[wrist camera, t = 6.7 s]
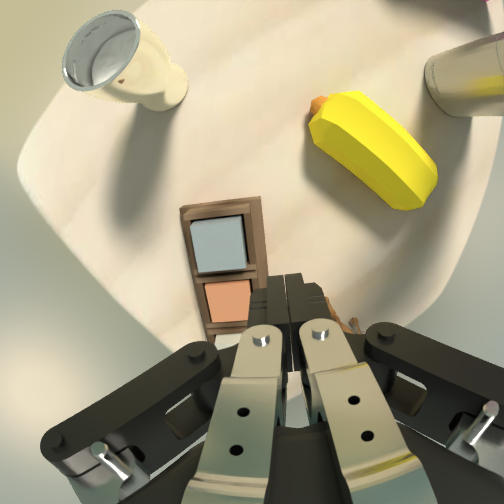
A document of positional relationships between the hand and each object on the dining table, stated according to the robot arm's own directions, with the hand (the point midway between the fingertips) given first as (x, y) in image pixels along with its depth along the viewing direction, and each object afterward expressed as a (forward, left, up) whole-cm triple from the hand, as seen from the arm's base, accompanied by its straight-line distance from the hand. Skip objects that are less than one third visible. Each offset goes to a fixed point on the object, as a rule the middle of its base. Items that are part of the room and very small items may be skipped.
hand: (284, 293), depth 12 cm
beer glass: (+10, -16, -21) cm, 28 cm away
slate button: (+5, +2, -17) cm, 18 cm away
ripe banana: (-13, -6, -21) cm, 25 cm away
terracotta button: (+5, +9, -18) cm, 21 cm away
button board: (+5, +9, -20) cm, 23 cm away
